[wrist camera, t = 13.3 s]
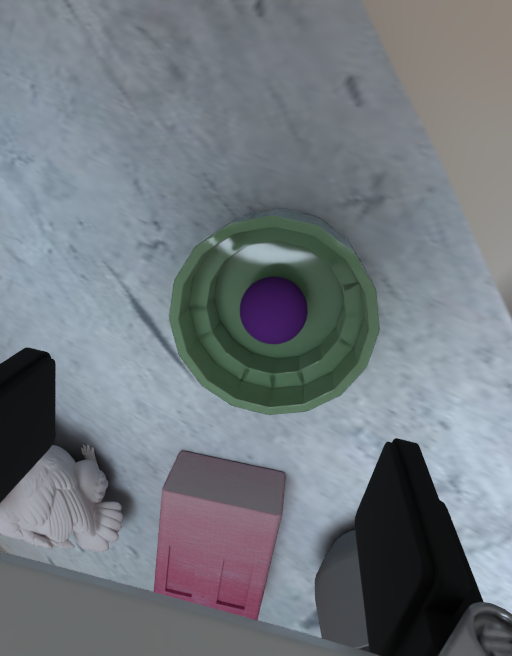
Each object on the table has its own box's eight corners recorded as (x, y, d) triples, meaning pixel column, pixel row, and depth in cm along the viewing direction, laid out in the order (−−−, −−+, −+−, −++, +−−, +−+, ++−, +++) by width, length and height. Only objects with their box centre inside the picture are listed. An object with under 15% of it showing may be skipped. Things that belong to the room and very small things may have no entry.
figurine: (39, 381, 34) (-104, 489, 22) (154, 502, 37) (81, 653, 26) (-17, 424, 37) (-172, 541, 25) (95, 534, 40) (5, 684, 28)
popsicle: (147, 654, 38) (160, 490, 30) (165, 603, 42) (180, 449, 35) (244, 678, 37) (282, 517, 30) (251, 624, 42) (286, 472, 34)
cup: (396, 601, 38) (423, 740, 29) (301, 570, 38) (297, 698, 29) (441, 530, 34) (489, 663, 25) (336, 496, 34) (344, 615, 25)
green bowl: (209, 190, 27) (185, 194, 22) (390, 232, 26) (409, 246, 21) (184, 352, 31) (159, 387, 26) (338, 391, 31) (343, 434, 26)
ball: (253, 262, 28) (240, 278, 24) (316, 278, 27) (314, 296, 23) (241, 321, 29) (227, 345, 25) (300, 336, 29) (295, 363, 25)
